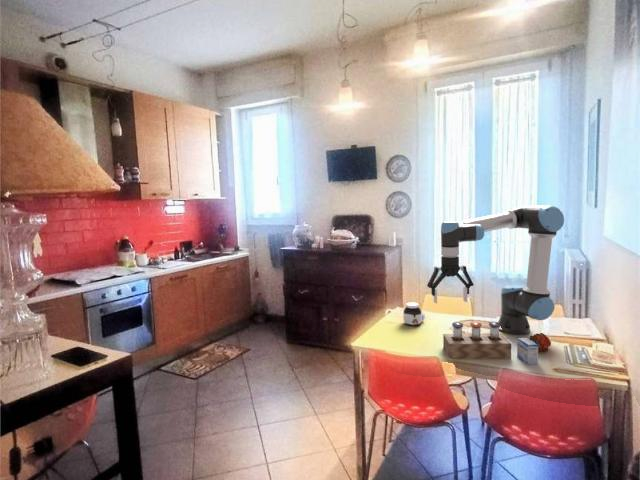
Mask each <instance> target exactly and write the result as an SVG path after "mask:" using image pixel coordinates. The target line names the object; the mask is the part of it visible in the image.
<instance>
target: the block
mask: <svg viewBox="0 0 640 480" xmlns="http://www.w3.org/2000/svg"><path fill="white" fill-rule="evenodd" d="M442 339H443V341H442V342H443V343H442V344H443V345H442V346H443V350H444V352H445V354H446V355H447V357H448V359H449V360H511V359H512V342H511V341H510V340H508V339H507V337H505V336H504V334H502V333H501V332H499V340H495V341H491V340H490V332H489V333H487V332H486V333H480V341H472V333H462V341H454V339H453V333H443V335H442Z"/></svg>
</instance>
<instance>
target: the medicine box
mask: <svg viewBox="0 0 640 480" xmlns="http://www.w3.org/2000/svg"><path fill="white" fill-rule="evenodd" d="M529 339H530V338H528V337H519V338H517V348H516V349H517V352H516V353H517V354H516V357H517V359H519V360H521V361H523V362H524V363H525V364H526V365H528V366H529V365H537V364H538V363H539V362H538V361H539V352H538V344H536V343H534V342H533V341H531V340H529Z"/></svg>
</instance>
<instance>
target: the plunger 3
mask: <svg viewBox="0 0 640 480" xmlns="http://www.w3.org/2000/svg"><path fill="white" fill-rule="evenodd" d="M488 326H489V333H490V340H491V341H495V340H499V333H500V330H499V327H500V323H499V322H498V321H489V322H488Z"/></svg>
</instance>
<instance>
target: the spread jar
mask: <svg viewBox="0 0 640 480" xmlns="http://www.w3.org/2000/svg"><path fill="white" fill-rule="evenodd" d="M419 306H420V305H419V303H418V302H413V301H412V302H411V301H410V302H407V303H405V308H404V310H403V312H402V313H403V317H402V318H403V322H404V324H405V325H407V326H408V327H418V326H420V325H421V324H422V322H423V321H424V320H425V318H426V314H425V313H424V312H423V311H422V310H421V308H420V307H419Z"/></svg>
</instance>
